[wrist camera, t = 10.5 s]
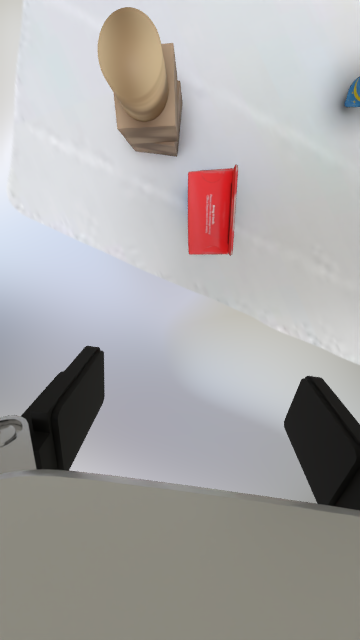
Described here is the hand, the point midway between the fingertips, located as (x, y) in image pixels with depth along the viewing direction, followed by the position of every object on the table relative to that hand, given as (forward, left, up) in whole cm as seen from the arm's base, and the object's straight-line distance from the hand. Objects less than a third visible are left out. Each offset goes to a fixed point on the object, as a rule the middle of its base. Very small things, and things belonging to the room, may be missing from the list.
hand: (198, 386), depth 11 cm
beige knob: (+8, -18, -20) cm, 28 cm away
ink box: (0, -8, -31) cm, 32 cm away
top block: (+8, -18, -25) cm, 32 cm away
